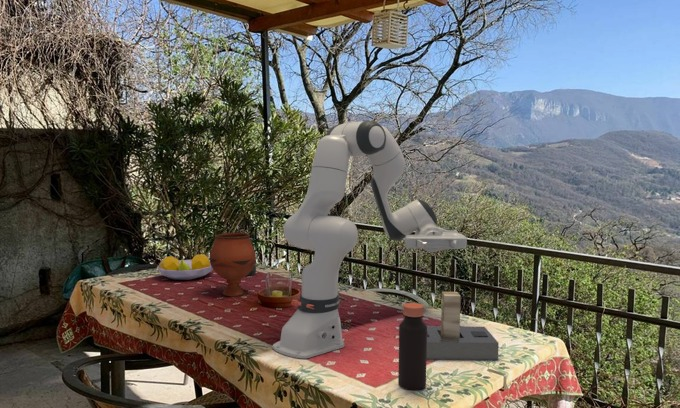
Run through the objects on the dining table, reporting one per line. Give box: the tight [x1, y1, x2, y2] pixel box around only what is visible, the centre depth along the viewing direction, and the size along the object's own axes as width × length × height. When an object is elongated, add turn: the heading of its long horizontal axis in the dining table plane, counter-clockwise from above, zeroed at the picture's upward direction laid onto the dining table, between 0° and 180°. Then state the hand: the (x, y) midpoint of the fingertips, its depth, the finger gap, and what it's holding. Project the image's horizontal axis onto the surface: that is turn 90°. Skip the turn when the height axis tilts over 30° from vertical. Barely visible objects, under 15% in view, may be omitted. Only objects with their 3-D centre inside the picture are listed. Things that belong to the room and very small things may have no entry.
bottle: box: [397, 302, 428, 391], centre depth 123 cm, size 7×7×20 cm
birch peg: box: [440, 291, 462, 338], centre depth 146 cm, size 4×4×16 cm
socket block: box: [426, 325, 499, 361], centre depth 147 cm, size 14×24×5 cm, turn 90°
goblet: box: [209, 232, 257, 297], centre depth 210 cm, size 19×19×25 cm
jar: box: [245, 261, 257, 278], centre depth 246 cm, size 10×10×8 cm
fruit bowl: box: [156, 253, 214, 281], centre depth 239 cm, size 28×27×11 cm
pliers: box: [338, 291, 348, 303], centre depth 209 cm, size 10×1×20 cm
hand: (439, 245), depth 160 cm, fingers open, 8 cm apart
